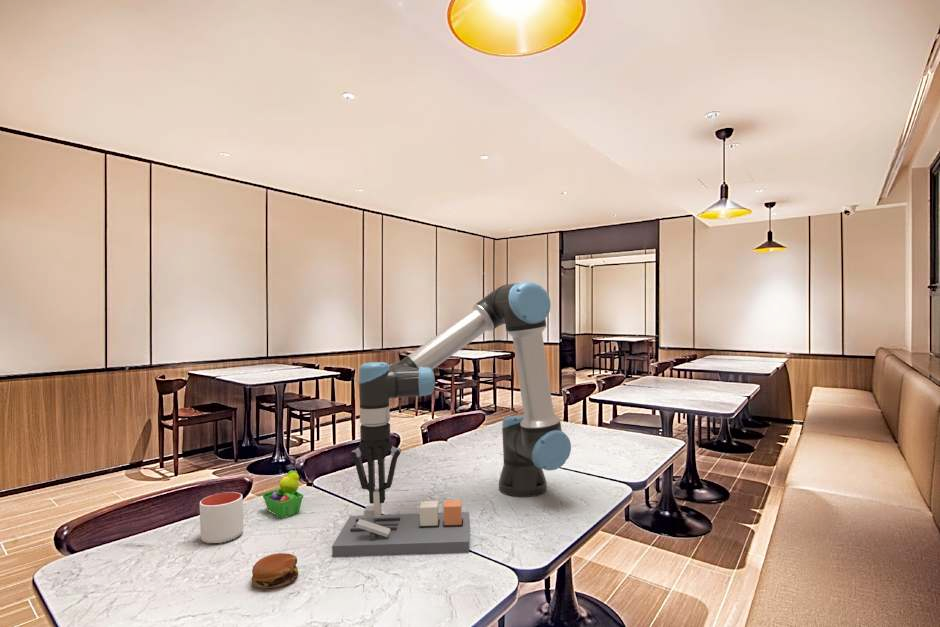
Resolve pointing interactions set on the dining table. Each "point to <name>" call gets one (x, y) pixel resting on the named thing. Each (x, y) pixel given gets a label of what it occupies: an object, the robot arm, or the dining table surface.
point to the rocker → (373, 527)
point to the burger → (274, 571)
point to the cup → (221, 517)
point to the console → (402, 537)
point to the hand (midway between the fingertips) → (377, 515)
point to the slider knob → (369, 514)
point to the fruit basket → (285, 496)
